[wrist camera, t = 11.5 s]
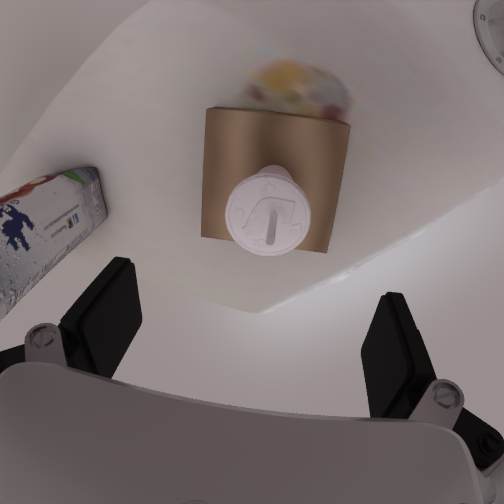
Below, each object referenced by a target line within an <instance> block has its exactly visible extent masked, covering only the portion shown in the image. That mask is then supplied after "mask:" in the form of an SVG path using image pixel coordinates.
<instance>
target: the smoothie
mask: <svg viewBox="0 0 504 504" xmlns="http://www.w3.org/2000/svg"><path fill="white" fill-rule="evenodd" d="M225 221H226V225H227V228H228V231H229V233H230V235H231V236H232V238H233V239H234V240H235V242H236V243H237V244H238V245H240V246H241V247H242V248H244V249H245V250H247V251H249V252H251V253H254V254H257V255H261V256H277V255H281V254H284V253H287V252H289V251H291V250H293V249H294V248H296V247H297V246H298V245H299V244H300V243H301V242H302V241H303V239H304V238H305V236H306V235H307V232H308V230H309V227H310V221H311V210H310V204H309V201H308V199H307V197H306V195H305V193H304V191H303V190H302V189H301V188H300V187H299V186H298V185H297V184H296V183H295V182H294V181H293V179H292V177H291V175H290V173H289V172H288V171H287V170H286V169H285V168H283V167H281V166H278V165H269V166H266V167H264V168H262V169H261V170H260V171H259V172H258V173H257V174H255V175H253V176H251V177H249V178H247V179H244V180H243V181H242V182H241V183H239V184H238V185H237V186H236V187H235V188H234V190H233V191H232V193H231V194H230V196H229V199H228V202H227V205H226V210H225Z"/></svg>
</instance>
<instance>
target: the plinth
mask: <svg viewBox="0 0 504 504" xmlns="http://www.w3.org/2000/svg"><path fill="white" fill-rule="evenodd" d="M349 133H350V125H348V124H346V123H345V122H340V121H335V120H329V119H323V118H317V117H310V116H303V115H296V114H288V113H280V112H271V111H261V110H251V109H239V108H225V107H213V108H208V109H207V110H206V125H205V143H204V163H203V187H202V219H201V237H207V238H215V239H223V240H230V241H235V240H234V239H233V238H232V236H231V235H230V233H229V231H228V228H227V225H226V221H225V210H226V205H227V202H228V199H229V196H230V194H231V193H232V191H233V190H234V188H235V187H236V186H237V185H238V184H239V183H241V182H242V181H243V180H244V179H247V178H249V177H251V176H253V175H255V174H257V173H258V172H259V171H260V170H261V169H262V168H264V167H266V166H269V165H278V166H281V167H283V168H285V169H286V170H287V171H288V172H289V173H290V175H291V177H292V179H293V181H294V182H295V183H296V184H297V185H298V186H299V187H300V188H301V189H302V190H303V191H304V193H305V195H306V197H307V199H308V201H309V204H310V210H311V221H310V227H309V230H308V232H307V235H306V236H305V238H304V239H303V241H302V242H301V243H300V244H299V245H298V246H297V247H296V248H294V249H299V250H307V251H314V252H322V253H327V250H328V246H329V241H330V236H331V232H332V227H333V222H334V217H335V212H336V207H337V202H338V197H339V191H340V186H341V180H342V175H343V169H344V163H345V157H346V151H347V145H348V139H349Z"/></svg>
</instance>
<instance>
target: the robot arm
mask: <svg viewBox="0 0 504 504" xmlns="http://www.w3.org/2000/svg"><path fill="white" fill-rule="evenodd" d="M474 22H475V29H476V33H477V36H478V39H479V41H480V44H481V46H482V48H483V50H484V52H485V54H486V55H487V57H488V58H489V60H490V61H491V63H492V64H493V65H494V66H495V67H496V68H497V69H498V70H499V71H500V72H501V73H502V74H503V75H504V0H478V1H477V3H476V6H475V10H474ZM60 321H61V322H60V324H59V325H58V326H56V325H54V324H52V323H41V324H38V325H36V326H34V327H33V328H31V329H30V330H29V332H27V334H26V336H25V341H24V342H25V344H23V345H20V346H16V347H13V348H10V349H7V350H4V351H1V352H0V504H504V439H503V437H502V436H501V434H500V433H499V432H498V431H497V430H496V429H494V428H493V427H491V426H490V425H488V424H487V423H485V422H484V421H483V420H481V419H480V418H478V417H477V416H475V415H474V414H472V413H471V412H469V411H468V410H466V409H465V408H464V407H463V405H464V395H463V392H462V390H461V389H460V388H459V387H458V385H456V384H455V383H454V382H452V381H449V380H446V379H437V377H436V375H435V372H434V369H433V366H432V363H431V360H430V358H429V355H428V352H427V350H426V347H425V344H424V342H423V339H422V336H421V334H420V332H419V330H418V329H417V327H416V325H415V322H414V320H413V317H412V315H411V312H410V310H409V308H408V305H407V303H406V300H405V298H404V296H403V294H402V293H396V292H387V293H386V295H382V296H381V298H380V301H379V304H378V306H377V309H376V312H375V314H374V317H373V320H372V323H371V325H370V328H369V330H368V333H367V335H366V338H365V340H364V343H363V345H362V348H361V358H362V365H363V370H364V377H365V383H366V389H367V396H368V403H369V410H370V418H364V417H363V418H362V417H339V416H321V415H307V414H295V413H285V412H276V411H267V410H259V409H252V408H244V407H238V406H231V405H225V404H218V403H213V402H207V401H202V400H197V399H191V398H187V397H182V396H177V395H172V394H168V393H164V392H159V391H155V390H151V389H147V388H143V387H139V386H135V385H131V384H127V383H124V382H120V381H117V380H113V379H111V378H112V376H113V374H114V373H115V371H116V369H117V367H118V365H119V363H120V362H121V360H122V358H123V356H124V354H125V353H126V351H127V349H128V347H129V345H130V344H131V342H132V340H133V338H134V336H135V335H136V333H137V331H138V329H139V327H140V326H141V323H142V312H141V306H140V300H139V293H138V286H137V279H136V271H135V265H134V263H131V260H130V259H129V258H123V257H114V258H113V259H112V260H111V262H110V263H109V264H108V265H107V266H106V267H105V268H104V269H103V270H102V272H101V273H100V274H99V275H98V276H97V277H96V278H95V280H94V281H93V282H92V283H91V284H90V285H89V286H88V287H87V289H86V290H85V291H84V292H83V294H82V295H81V296H80V297H79V298H78V299H77V300H76V302H75V303H74V304H73V305H72V306H71V308H70V309H69V310H68V311H67V313H66V314H65V315H64V316H63V317H62V319H61V320H60Z"/></svg>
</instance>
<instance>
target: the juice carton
mask: <svg viewBox="0 0 504 504" xmlns="http://www.w3.org/2000/svg"><path fill="white" fill-rule="evenodd" d="M106 217H107V213H106V209H105V205H104V201H103V197H102V193H101V189H100V183H99V178H98V173H97V170H96V168H92V167H91V168H81V169H74V170H69V171H65V172H62V173H59V174H52V175H46V176H42V177H39V178H37V179H35V180H33V181H31V182H29V183H27V184H25V185H23V186H21V187H19V188H17V189H15V190H13V191H11V192H10V193H8V194H6V195H4V196H2V197H1V198H0V321H1V320H2V319H3V318H4V317H5V316H6V315H7V314H8V313H9V312H10V310H11V309H12V308H13V307H14V306H15V305H16V304H17V303H18V302H19V301H20V300H21V299H22V298H23V297H24V296H25V295H26V294H27V293H28V292H29V291H30V290H31V289H32V288H33V287H34V286H35V285H36V284H37V283H38V282H39V281H40V280H41V279H42V278H43V277H44V276H45V275H46V274H47V273H48V272H49V271H50V270H51V269H52V268H54V267H55V266H56V265H57V264H58V263H59V262H60V261H61V260H62V259H63V258H64V257H65V256H67V255H68V254H69V253H70V252H71V251H72V250H73V249H74V248H75V247H77V246H78V245H79V244H80V243H81V242H82V241H83V240H84V239H86V238H87V237H88V236H89V235H90V234H91V233H92V232H93V231H94V230H95V229H96V228H97V227H98V226H99V225H100V224H101V223H102V222H103V221H104V220H105V219H106Z"/></svg>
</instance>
